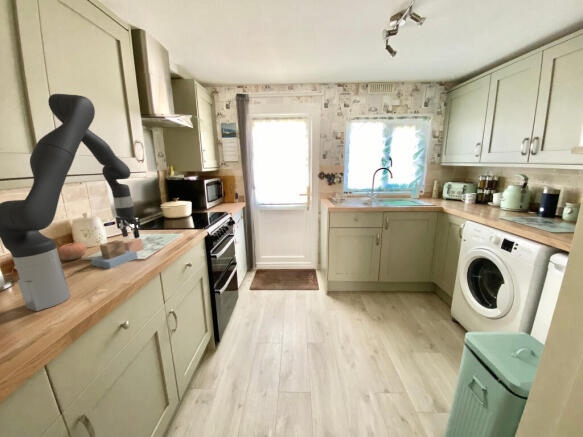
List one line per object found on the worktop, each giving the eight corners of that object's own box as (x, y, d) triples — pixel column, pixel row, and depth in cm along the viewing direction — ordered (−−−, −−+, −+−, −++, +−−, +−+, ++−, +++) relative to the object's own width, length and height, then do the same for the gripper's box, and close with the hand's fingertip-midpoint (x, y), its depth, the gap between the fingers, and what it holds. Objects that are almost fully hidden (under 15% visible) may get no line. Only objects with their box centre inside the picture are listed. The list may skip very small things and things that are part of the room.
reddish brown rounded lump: (52, 262, 109) (48, 246, 107) (79, 253, 119) (75, 239, 117) (68, 264, 105) (63, 247, 104) (93, 255, 116) (89, 240, 114)
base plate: (110, 268, 98) (109, 262, 97) (92, 265, 102) (91, 259, 102) (137, 257, 109) (136, 251, 108) (120, 255, 113) (119, 249, 113)
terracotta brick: (130, 254, 114) (127, 243, 113) (123, 253, 116) (121, 242, 115) (143, 249, 121) (141, 238, 119) (136, 248, 122) (134, 238, 121)
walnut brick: (109, 259, 101) (106, 246, 100) (102, 257, 103) (99, 245, 101) (126, 253, 107) (123, 241, 106) (118, 252, 109) (116, 240, 108)
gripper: (106, 207, 112) (114, 238, 116) (126, 207, 107) (133, 240, 111) (122, 204, 119) (129, 234, 123) (141, 204, 114) (148, 235, 118)
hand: (131, 237), depth 117 cm, fingers open, 8 cm apart
